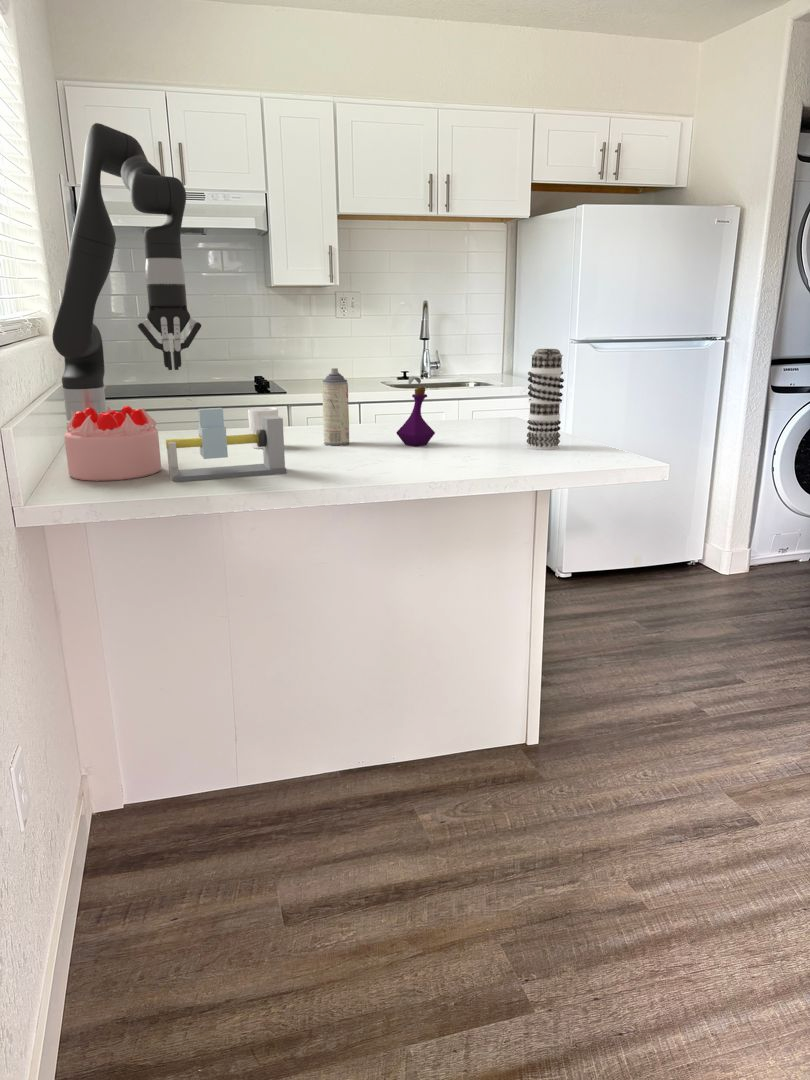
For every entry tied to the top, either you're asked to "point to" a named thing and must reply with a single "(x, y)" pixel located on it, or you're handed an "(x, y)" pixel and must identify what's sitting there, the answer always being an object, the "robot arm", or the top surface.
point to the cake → (112, 445)
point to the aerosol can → (335, 409)
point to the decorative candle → (545, 399)
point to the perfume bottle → (416, 421)
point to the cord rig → (266, 438)
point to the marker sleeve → (212, 433)
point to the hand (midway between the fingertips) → (173, 369)
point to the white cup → (259, 419)
